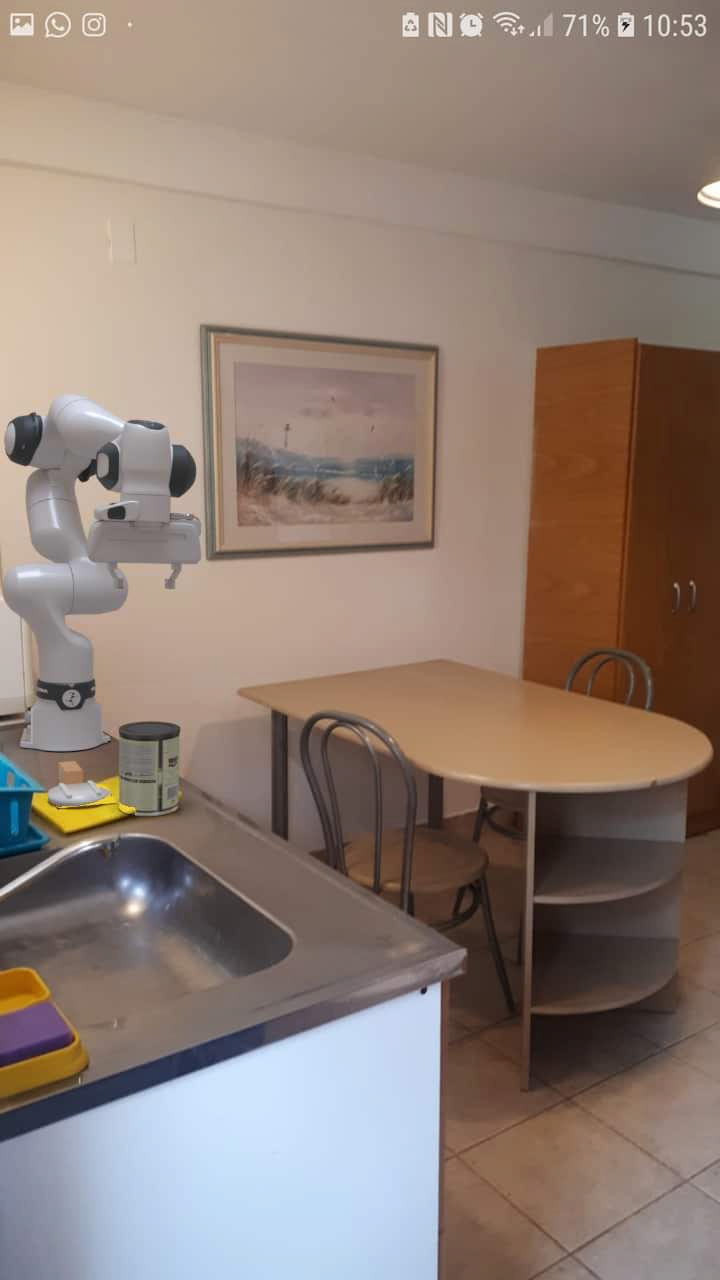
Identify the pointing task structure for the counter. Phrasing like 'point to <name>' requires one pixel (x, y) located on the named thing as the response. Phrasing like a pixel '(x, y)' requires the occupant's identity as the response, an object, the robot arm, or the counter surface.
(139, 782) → the coffee can
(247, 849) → the counter surface
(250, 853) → the counter surface
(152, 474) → the robot arm
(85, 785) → the lid
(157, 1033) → the counter surface
